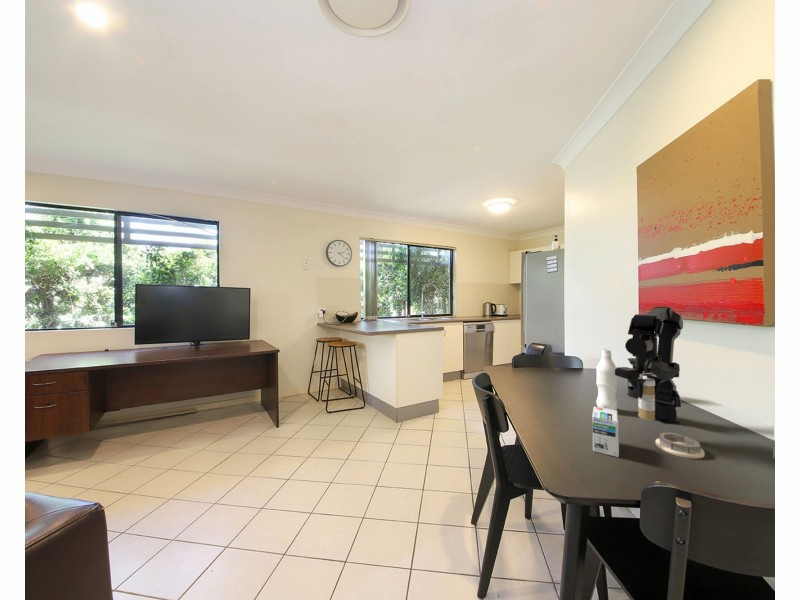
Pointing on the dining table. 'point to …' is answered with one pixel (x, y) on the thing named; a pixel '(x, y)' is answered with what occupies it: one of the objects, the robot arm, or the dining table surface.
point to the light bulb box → (605, 431)
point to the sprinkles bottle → (647, 400)
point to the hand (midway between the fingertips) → (646, 397)
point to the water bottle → (606, 382)
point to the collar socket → (680, 445)
